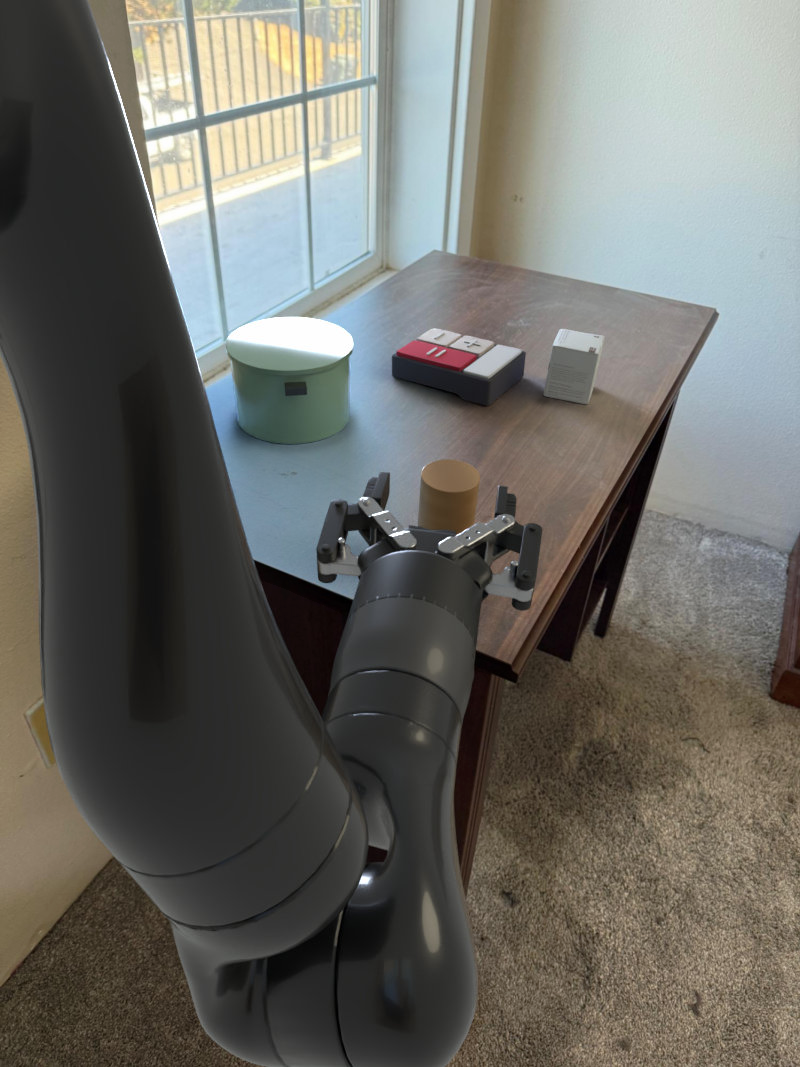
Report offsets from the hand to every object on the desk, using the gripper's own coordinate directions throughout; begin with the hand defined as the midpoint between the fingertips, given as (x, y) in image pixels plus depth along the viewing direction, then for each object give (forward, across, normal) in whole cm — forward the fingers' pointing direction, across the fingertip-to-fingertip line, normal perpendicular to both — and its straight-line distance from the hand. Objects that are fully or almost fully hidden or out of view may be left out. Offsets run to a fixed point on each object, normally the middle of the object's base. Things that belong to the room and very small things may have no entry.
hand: (442, 488), depth 54 cm
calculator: (+50, +3, +16) cm, 52 cm away
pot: (+34, +22, +15) cm, 43 cm away
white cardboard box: (+49, -12, +16) cm, 53 cm away
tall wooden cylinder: (+10, 0, +16) cm, 19 cm away
